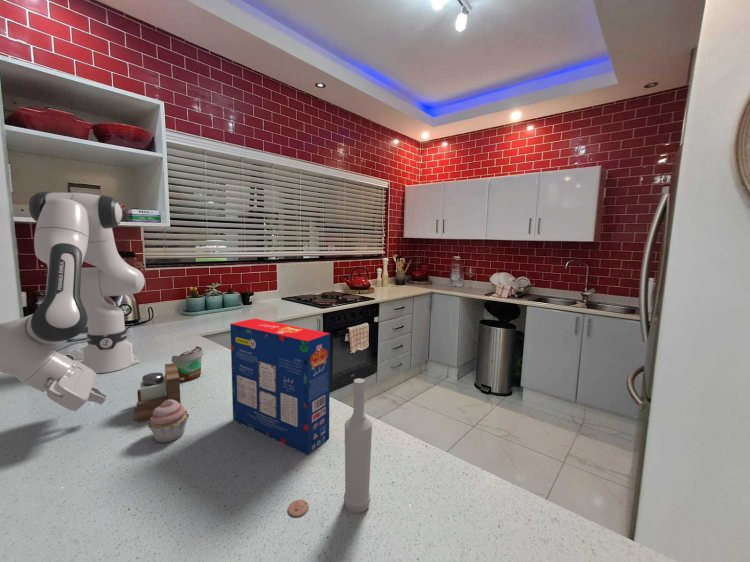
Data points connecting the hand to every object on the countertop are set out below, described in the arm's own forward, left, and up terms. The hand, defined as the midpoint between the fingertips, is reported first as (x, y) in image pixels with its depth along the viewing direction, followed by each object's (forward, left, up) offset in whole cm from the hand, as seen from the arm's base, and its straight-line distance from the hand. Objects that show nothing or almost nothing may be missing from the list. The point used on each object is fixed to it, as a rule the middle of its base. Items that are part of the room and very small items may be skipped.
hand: (104, 400), depth 91 cm
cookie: (+58, +33, -6) cm, 67 cm away
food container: (-20, +23, -6) cm, 31 cm away
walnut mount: (0, +11, -6) cm, 13 cm away
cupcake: (+18, +14, -6) cm, 24 cm away
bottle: (+63, +43, -6) cm, 77 cm away
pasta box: (+30, +39, -6) cm, 49 cm away
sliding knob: (0, +11, -6) cm, 13 cm away
